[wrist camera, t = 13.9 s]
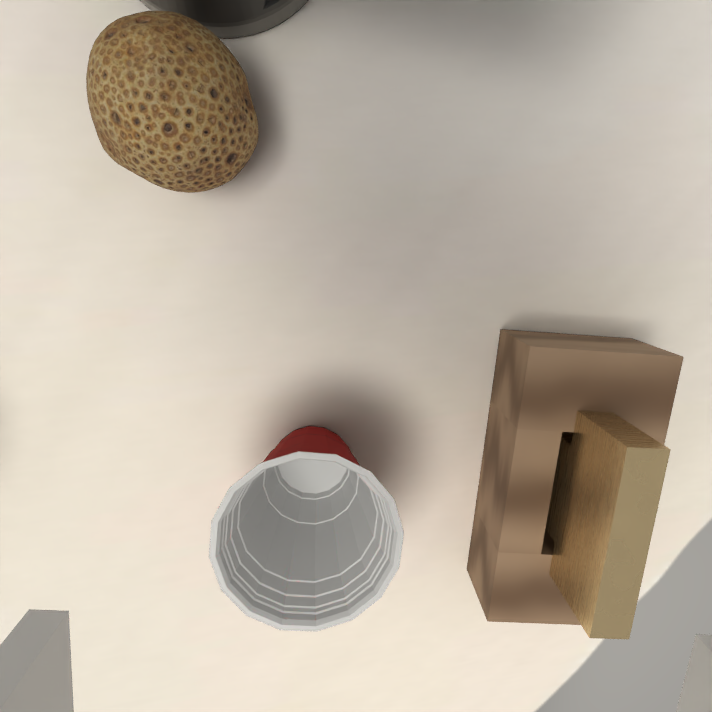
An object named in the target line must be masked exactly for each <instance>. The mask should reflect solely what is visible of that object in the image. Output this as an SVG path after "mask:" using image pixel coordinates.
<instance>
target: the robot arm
mask: <svg viewBox="0 0 712 712" xmlns="http://www.w3.org/2000/svg"><path fill="white" fill-rule="evenodd" d="M140 1H141V2H142V3H143V4H144V5H145V6H147V7H148V8H149V9H150V10H152V11H170V12H175V13H180V14H182V15H185V16H187V17H189V18H191V19H194V20H196V21H197V22H199V23H200V24H202V25H203V26H205V27H206V28H207V29H209V30H210V31H211V32H213V33H214V34H215V35H216V36H217V37H220V38H234V37H243V36H248V35H253V34H256V33H260V32H263V31H265V30H268V29H270V28H272V27H274V26H276V25H278V24H280V23H282V22H283V21H285V20H286V19H288V18H289V17H291V16H292V15H293V14H294V13H296V12H297V11H298V10H299V9H300V8H301V7H302V6H303V5H304V4H305V3H306V2H307V1H308V0H140ZM0 712H74V709H73V689H72V669H71V649H70V629H69V611H57V610H30V609H29V610H28V612H27V613H26V614H25V615H24V617H23V618H22V619H21V620H20V622H19V623H18V624H17V625H16V626H15V628H14V629H13V630H12V631H11V633H10V634H9V635H8V636H7V638H6V639H5V640H4V641H3V643H2V644H1V645H0ZM676 712H712V635H702V634H696V636H695V640H694V644H693V648H692V652H691V656H690V659H689V663H688V667H687V671H686V675H685V679H684V683H683V687H682V691H681V694H680V698H679V702H678V706H677V710H676Z"/></svg>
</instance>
